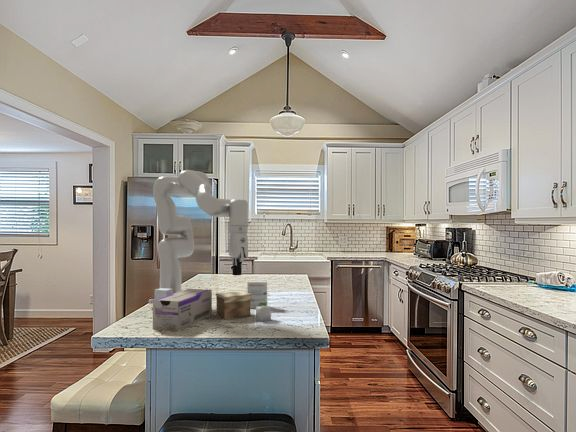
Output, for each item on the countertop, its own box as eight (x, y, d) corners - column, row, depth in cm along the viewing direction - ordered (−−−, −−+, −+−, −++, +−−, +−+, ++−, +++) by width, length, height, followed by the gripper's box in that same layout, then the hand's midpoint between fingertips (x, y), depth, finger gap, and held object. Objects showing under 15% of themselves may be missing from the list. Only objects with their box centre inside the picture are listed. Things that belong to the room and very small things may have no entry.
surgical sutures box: (178, 331, 136) (178, 301, 136) (152, 329, 139) (152, 299, 139) (211, 315, 160) (211, 289, 160) (188, 314, 163) (189, 288, 163)
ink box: (267, 306, 177) (267, 280, 177) (265, 308, 172) (266, 282, 172) (249, 306, 178) (249, 280, 178) (247, 308, 173) (247, 282, 173)
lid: (225, 302, 151) (224, 296, 151) (215, 299, 161) (215, 293, 161) (252, 300, 157) (252, 294, 157) (241, 296, 166) (241, 291, 167)
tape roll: (259, 322, 148) (259, 309, 148) (253, 319, 153) (253, 306, 153) (273, 320, 150) (273, 307, 151) (266, 317, 156) (266, 305, 156)
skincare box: (173, 318, 154) (173, 288, 154) (166, 321, 150) (166, 290, 150) (160, 317, 156) (160, 287, 156) (153, 319, 152) (153, 289, 152)
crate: (225, 319, 152) (225, 299, 152) (216, 314, 161) (216, 295, 161) (250, 316, 158) (250, 296, 158) (240, 311, 166) (240, 293, 166)
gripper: (254, 230, 151) (253, 277, 151) (239, 229, 164) (238, 272, 164) (236, 230, 147) (235, 278, 147) (222, 229, 160) (221, 273, 160)
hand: (236, 275), depth 155 cm, fingers closed
